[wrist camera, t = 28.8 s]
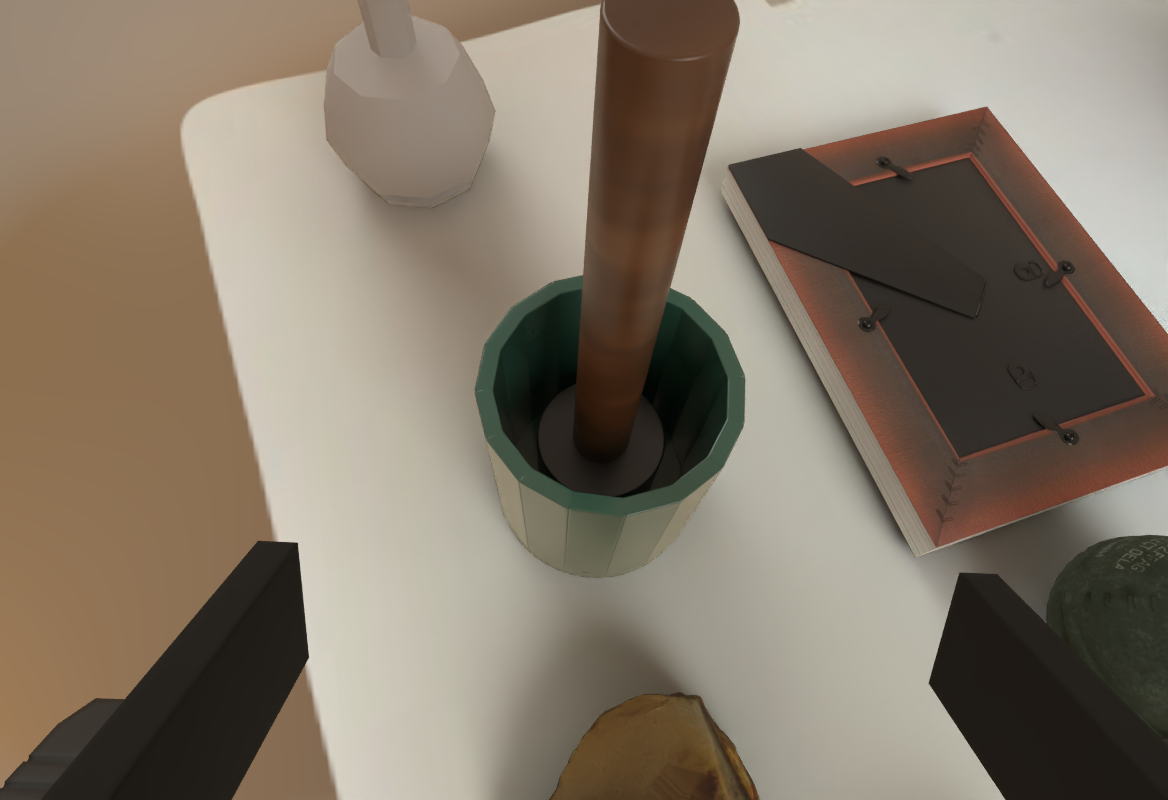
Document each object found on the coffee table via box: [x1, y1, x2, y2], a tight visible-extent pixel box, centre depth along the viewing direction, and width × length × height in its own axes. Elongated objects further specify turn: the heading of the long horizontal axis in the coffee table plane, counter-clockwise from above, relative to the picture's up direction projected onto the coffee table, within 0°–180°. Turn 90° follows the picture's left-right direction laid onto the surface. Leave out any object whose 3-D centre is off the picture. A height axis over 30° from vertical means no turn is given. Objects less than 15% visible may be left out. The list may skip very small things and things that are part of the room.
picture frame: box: [721, 107, 1168, 557], centre depth 35 cm, size 16×2×22 cm
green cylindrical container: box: [475, 275, 745, 578], centre depth 27 cm, size 9×9×10 cm
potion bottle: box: [324, 0, 495, 208], centre depth 31 cm, size 9×9×18 cm
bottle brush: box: [537, 0, 740, 498], centre depth 21 cm, size 5×5×22 cm
